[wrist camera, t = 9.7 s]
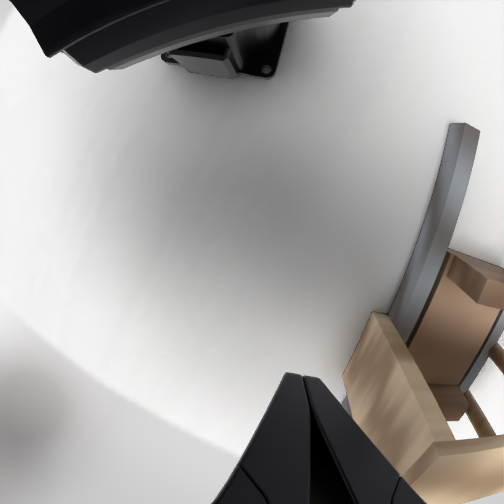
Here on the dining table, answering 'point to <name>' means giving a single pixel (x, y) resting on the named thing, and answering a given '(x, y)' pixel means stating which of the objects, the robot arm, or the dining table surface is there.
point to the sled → (455, 326)
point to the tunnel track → (408, 374)
